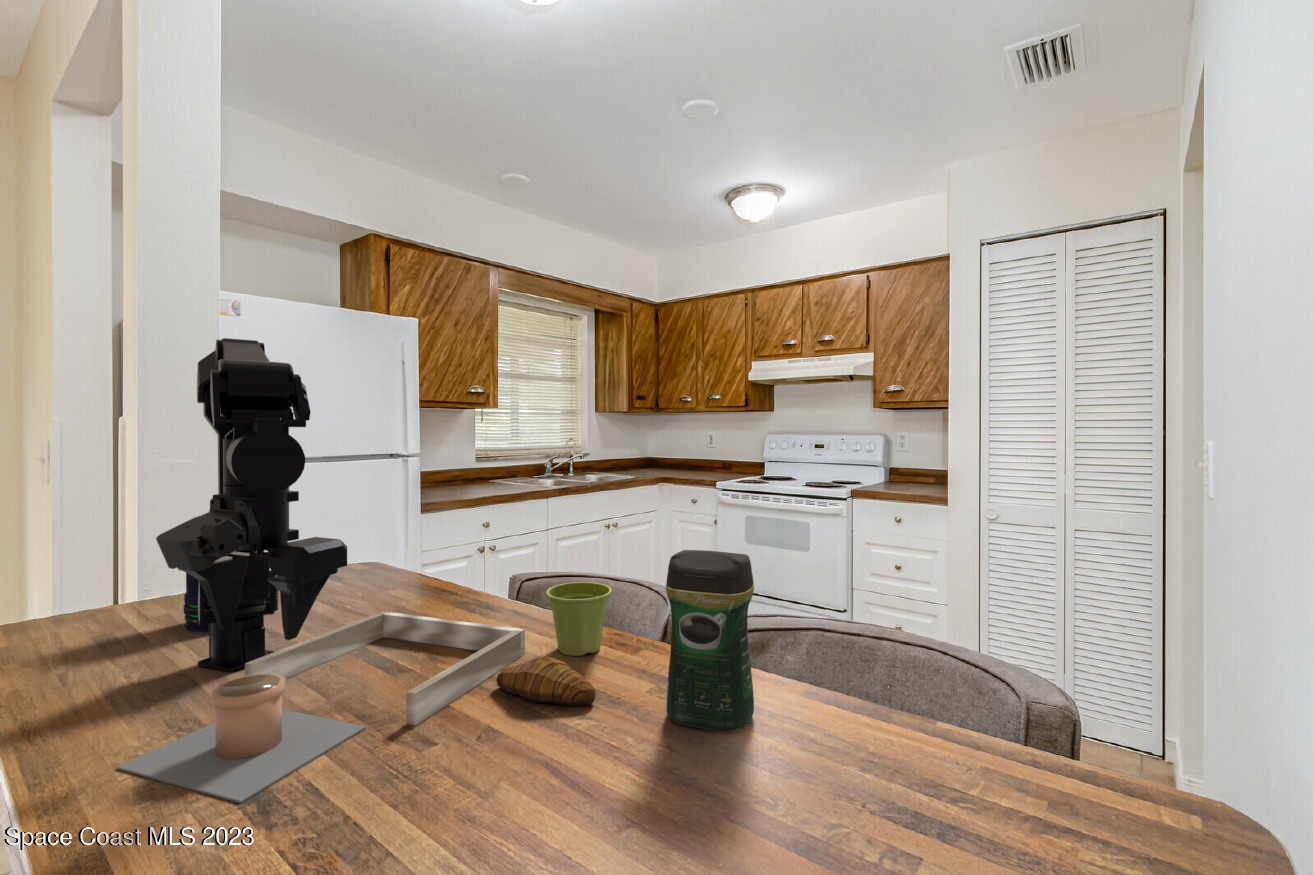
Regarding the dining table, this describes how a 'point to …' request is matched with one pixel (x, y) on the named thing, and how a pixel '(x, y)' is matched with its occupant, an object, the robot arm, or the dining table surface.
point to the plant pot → (579, 615)
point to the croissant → (547, 682)
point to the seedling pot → (248, 715)
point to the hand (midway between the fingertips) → (257, 633)
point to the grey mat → (241, 778)
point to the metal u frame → (438, 691)
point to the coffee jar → (710, 640)
